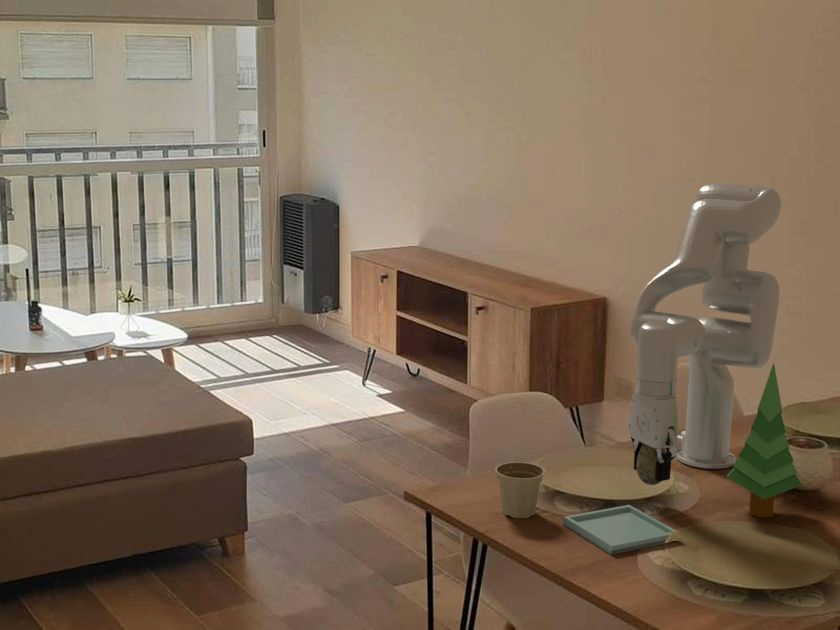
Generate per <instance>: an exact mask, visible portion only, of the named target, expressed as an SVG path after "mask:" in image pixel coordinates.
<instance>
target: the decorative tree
mask: <svg viewBox="0 0 840 630" xmlns="http://www.w3.org/2000/svg"><path fill="white" fill-rule="evenodd" d="M775 366H776V365H775V362H773V364H772V366H771V368H770V372H769V375H768V378H767V380H766V383H765V387H764V389H763V392H762V395H761V398H760V401H759V404H758V407H757V412H756V413H757V414H756V417H755V419H754V421H753V423H752V425H751V427H750V432H749V434H748V436H747V438H746V439H745V441H744V446H743V448H742V450H741V451H740V453H739V454H738V459H737V460H736V462H735V464H734V465H733V466H732V470H730V472H729V473H728V474H727V475H726V477H727V478H728V479H730V480H731V481H733V482H734V483H736V484H738V485H740V486H741V487H743V488H744V489H745V490H748V491H749V492H750V499H749V509H748V511H749V513H748V514H749V515H751V516H755V517H758V518H770V517H771V518H772V517H773V516H774V515H773V514H774V507H775V505H774V503H775V496H776V495H779V494H783V493H785V492H788V491H790V490H793V489H796V488H798V487H800V486H803V485H802V482H801V481H800V480H799V477H798V476H797V474H799V473H798V471H797V469H796V467H795V465H794V463H793V462H794V458H793V456H792V453H791V451H790V449H789V448H790V444H789V442H788V438H787V436H786V426H785V423H784V419H783V416H782V413H783V407H782V406H783V405H782V401H781V396H780V391H779V383H778V378H777V372H776V367H775Z"/></svg>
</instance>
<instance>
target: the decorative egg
mask: <svg viewBox="0 0 840 630" xmlns="http://www.w3.org/2000/svg"><path fill="white" fill-rule="evenodd" d="M662 450H663V455H664V454H665V453H666V448H665V449H662ZM657 461H658V455H657V450H656V449H654V448H651V447H649V446H647V445H645V444H642V446H641V449H640V451H639V454H638V458H637V470H636V473H637V475H638V477H639V479H640V480H641V481H642V482H643V483H644V484H646V485H648V486H649V485H650V486H655V485H658V484H660V483H661V482H662V481H660V482H657V481H656V480H655V471H656V462H657Z"/></svg>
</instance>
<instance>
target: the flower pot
mask: <svg viewBox="0 0 840 630" xmlns="http://www.w3.org/2000/svg"><path fill="white" fill-rule="evenodd" d="M494 471H495V473H496V474H497V480H498V482H499V491H500V498H501V507H502V508H501V509H502V513H503V514H504V516H506V517H507V516H510V517H511V518H513V519H529V518H530V517H531V516H534V515H536V512H537V503H538V499H539V492H540V487H541V482H542V481H543V477H544V476H545V474H546V469H545V468H544V467H542V466H540V465H538V464H535V463H531V462H525V461H524V462H522V461H511V462H509V461H508V462H505V463H501V464H498V465H497V466H496V467H495V469H494Z"/></svg>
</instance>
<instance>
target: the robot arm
mask: <svg viewBox="0 0 840 630" xmlns="http://www.w3.org/2000/svg"><path fill="white" fill-rule="evenodd" d="M781 203H782V202H781V198H780V195H779V193H778V192H777V191H776V190H775V189H774V188H772V187H768V186H759V185H758V186H757V185H743V184H736V183H735V184H734V183H717V182H716V183H708V184H705V185H703V186H701V187H700V188H699V190H698V191H697V194H696V201H695V202H694V203H693V204H692V205H691V206H690V208H689V210H688V212H687V216H686V218H685V222H684V224H683V225H684V226H683V229H682V233H681V235H680V238H679V241H678V244H677V249H676V251H675V254H674V257H673V261H672V262H671V263H670V265H668V266H667V267H665V268H664V269H663V270H661V271H659V273H657V274H656V275H655V276H654V277H652V278H651V280H650V281H649V282H647V284H646V285H645V286H644V287H643V289H642V290H641V292H640V293H639V296H638V298H637V300H636V304H635V307H634V310H633V314H632V317H631V320H630V325H629V337H630V339H631V342H632V343H633V344H634V345H635V346H636V347H637V361H636V363H637V364H636V384H635V385H636V386H635V388H634V390H633V393H632V395H631V396H632V397H631V401H630V405H629V406H630V407H629V415H628V424H627V426H626V428H627V432H628V436H629V437H630V439H631V442H632V449H633V450H634V456H633V470H635V471H637V458H638V454H639V451H640V449H641V446H642V444H645V445H647V446H649V447H651V448H654V449H656V450H657V455H658V461H657V462H656V471H655V480H656V481H657V482H660V481H661V482H664V481H665V482H666V481H668V480H670V479H671V469H672V468H671V467H672V462H673V461H674V459H675V458H676V459H677V460H678V461H679V462H681V463H682V464H685V465H687V466H690V467H694V468H700V469H708V470H718V469H720V470H721V469H727V468H730V467H733V466H734V464H735V463H736V462H737V460H736V459H737V458H736V456H735V454H734V453H732V452H730V443H731V442H730V441H731V430H732V428H731V427H732V417H733V406H734V405H733V404H734V392H735V383H734V379H733V375H732V373H731V372H730V370H729V368H728V366H732V367H740V368H745V369H755V370H757V369H762V368H764V367H765V366H766V365H767V364H768V362H769V360H770V358H771V353H772V350H773V343H774V337H775V329H776V325H777V324H776V323H777V317H778V311H779V305H780V304H779V303H780V302H779V301H780V286H779V282H778V279H777V278H776V276H774V275H773V274H771V273H769V272H765V271H757V270H750V269H748V262H749V255H750V244H751V245H752V244H753V243H755V242H758V240H759V239H761V238H762V236H763V235H765V234H766V233H767V232H768V231H769V230H770V229H771V228H772V227H773V226H774V225H775V224H776V222H777V220H778V218H779V215H780V213H781V206H782V204H781ZM701 284H702V290H701V300H702V305H704V307H706V308H707V309H708V310H711V311H715V312H720V313H727V314H735V315H742V316H747V317H749V319H750V322H749V321H741V320H735V319H730V318H729V319H728V318H721V317H715V316H713V317H711V316H710V317H709V316H707V317H699V318H695V317H692V316H689V315H681V314H675V313H668V312H662V311H656V309H657V307H658V305H660V303H661V302H662V301H663V300H664V299H665V298H667V297H668V296H670V295H672V294H674V293H676V292H678V291H679V292H680V291H682V290H685V289H688V288H692V287H694V286H697V285H698V286H699V285H701ZM683 356H688V364H689V365H688V366H689V375H688V389H687V403H686V419H685V430H683V431H681V432H680V434H679V413H678V402H677V396H676V395H677V376H678V375H677V374H678V357H683ZM727 365H728V366H727ZM680 443H681V445H680ZM662 449H665V451H666V453H665V454H664V455H663V450H662ZM661 482H660V483H661Z"/></svg>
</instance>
